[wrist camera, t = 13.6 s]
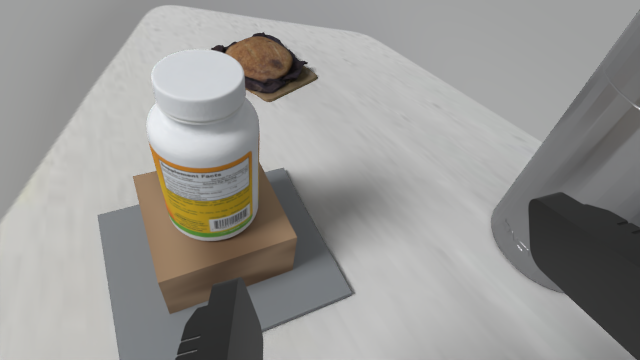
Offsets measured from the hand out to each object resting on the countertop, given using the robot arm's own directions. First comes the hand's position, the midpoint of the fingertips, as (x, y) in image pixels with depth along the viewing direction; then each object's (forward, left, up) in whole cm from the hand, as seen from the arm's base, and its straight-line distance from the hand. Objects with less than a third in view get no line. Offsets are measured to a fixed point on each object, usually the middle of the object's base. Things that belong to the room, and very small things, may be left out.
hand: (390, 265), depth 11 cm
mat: (+2, -11, -15) cm, 19 cm away
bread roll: (-8, -32, -16) cm, 37 cm away
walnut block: (+2, -12, -15) cm, 19 cm away
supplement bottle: (+2, -12, -11) cm, 16 cm away
